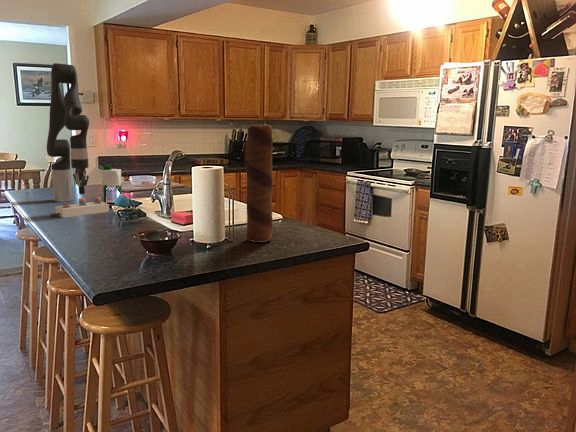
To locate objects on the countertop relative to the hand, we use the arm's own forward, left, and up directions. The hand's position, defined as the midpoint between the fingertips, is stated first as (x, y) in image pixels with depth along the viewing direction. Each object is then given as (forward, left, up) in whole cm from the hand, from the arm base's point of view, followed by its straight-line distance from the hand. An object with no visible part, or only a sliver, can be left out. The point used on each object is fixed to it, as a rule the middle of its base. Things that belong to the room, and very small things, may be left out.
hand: (81, 194), depth 230 cm
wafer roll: (+94, +30, -10) cm, 99 cm away
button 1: (0, -7, -7) cm, 10 cm away
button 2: (0, 0, -5) cm, 5 cm away
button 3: (0, +8, -5) cm, 9 cm away
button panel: (0, -2, -9) cm, 10 cm away
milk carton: (-18, +24, -10) cm, 32 cm away
